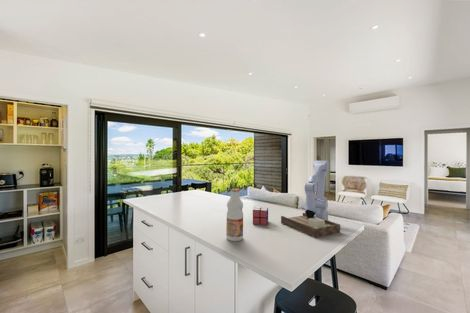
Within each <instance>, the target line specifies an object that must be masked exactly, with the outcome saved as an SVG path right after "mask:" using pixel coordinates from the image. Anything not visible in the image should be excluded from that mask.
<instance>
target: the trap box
mask: <svg viewBox="0 0 470 313" xmlns="http://www.w3.org/2000/svg"><path fill="white" fill-rule="evenodd" d="M313 218H318V217H315V216H314V217H313ZM319 219H321V218H319ZM322 220H324V219H322ZM280 224H282V225H284V226H287V227H289V228H291V229H294V230H296V231H297V232H301V233H303V234H306V235H308V236H309V237H312V238H315V239H316V238H320V237H321V238H322V237H325V236H326V237H327V236H330V235H331V236H332V235H335V234H340V233H341V223H340V224H339V223H337V222H334V221H331V220H329V219H328V220H325V227H320V228H315V227H312V226H310V225H308V218H307V215H306V213H305V212H302V215H299V216H291V217H287V216H284V215H280Z"/></svg>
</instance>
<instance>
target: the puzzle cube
mask: <svg viewBox="0 0 470 313" xmlns="http://www.w3.org/2000/svg"><path fill="white" fill-rule="evenodd" d="M268 223H269V207H265V206H264V207H263V206H262V207H261V206H254V207H253V209H252V225H257V224H258V225H259V226H268Z"/></svg>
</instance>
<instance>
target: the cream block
mask: <svg viewBox="0 0 470 313" xmlns="http://www.w3.org/2000/svg"><path fill="white" fill-rule="evenodd" d="M308 225H310V226H312V227H315V228H320V227H325V220H322V219H319V218H309V219H308Z"/></svg>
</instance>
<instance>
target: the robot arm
mask: <svg viewBox="0 0 470 313" xmlns="http://www.w3.org/2000/svg"><path fill="white" fill-rule="evenodd" d="M312 166H313V173H312V174H310V176H309V178H308V180H307V182H306V183H305V185H304V194H305V205H301V207H300V208H301V209H302V210H305V211H304V213H306V215H307V218H308V219H309V218H313V217H314V216H315V217H318V218H321V219H324V220H328V221H329V211H328V204H329V203H328V198H327V197H326V196H325V187H326V178H327V177H326V175H327V174H328V173H329V170H330V163H329V160H314V161H313V163H312Z"/></svg>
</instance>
